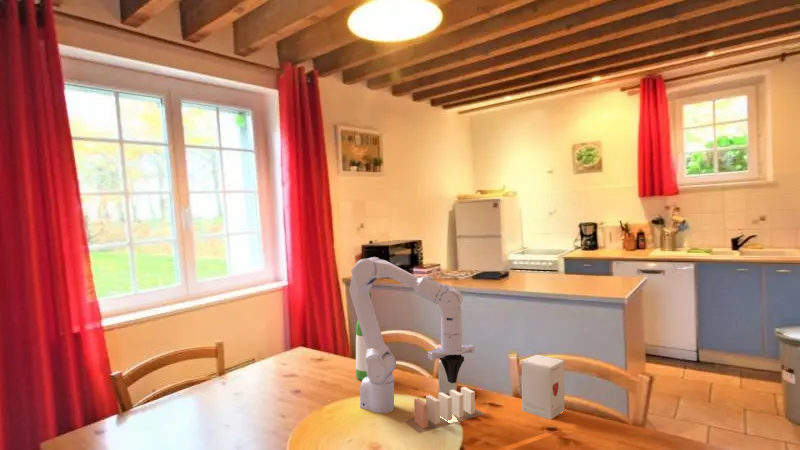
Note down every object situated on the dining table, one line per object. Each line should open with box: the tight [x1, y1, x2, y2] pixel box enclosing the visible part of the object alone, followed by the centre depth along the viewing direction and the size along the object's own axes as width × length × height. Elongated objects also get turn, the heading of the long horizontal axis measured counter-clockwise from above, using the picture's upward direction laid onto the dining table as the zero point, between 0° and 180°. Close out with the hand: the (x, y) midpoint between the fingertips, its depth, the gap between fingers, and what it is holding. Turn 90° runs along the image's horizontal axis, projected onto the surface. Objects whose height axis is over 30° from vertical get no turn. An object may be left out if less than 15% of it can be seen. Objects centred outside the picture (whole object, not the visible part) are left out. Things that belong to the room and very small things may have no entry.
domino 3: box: [437, 392, 452, 421], centre depth 120 cm, size 1×4×6 cm, turn 30°
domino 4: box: [449, 390, 463, 418], centre depth 122 cm, size 1×4×6 cm, turn 30°
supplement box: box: [521, 354, 565, 420], centre depth 125 cm, size 9×9×15 cm
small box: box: [438, 359, 459, 395], centre depth 141 cm, size 8×6×10 cm
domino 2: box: [425, 394, 440, 424], centre depth 118 cm, size 1×4×6 cm, turn 31°
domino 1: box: [413, 398, 428, 428], centre depth 116 cm, size 1×4×6 cm, turn 30°
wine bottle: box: [355, 291, 372, 382], centre depth 154 cm, size 8×8×30 cm
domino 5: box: [460, 386, 476, 414], centre depth 124 cm, size 1×4×6 cm, turn 31°
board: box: [402, 408, 486, 434], centre depth 120 cm, size 22×8×1 cm, turn 121°
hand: (451, 382), depth 121 cm, fingers closed
